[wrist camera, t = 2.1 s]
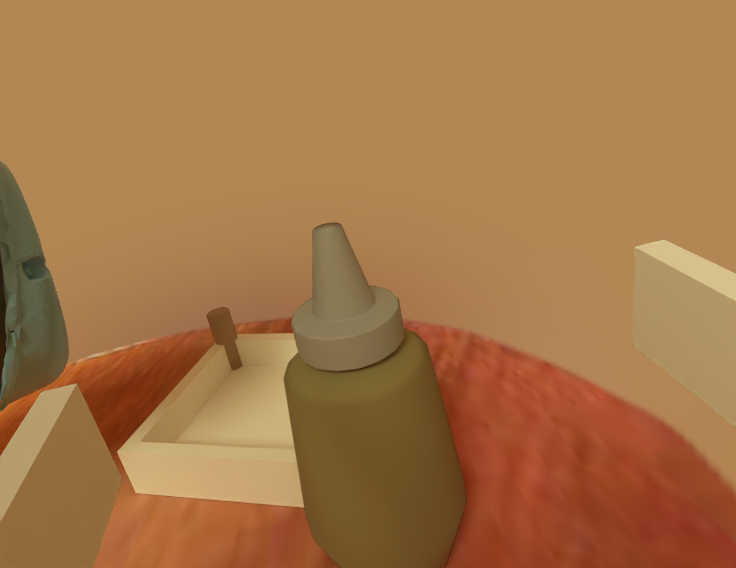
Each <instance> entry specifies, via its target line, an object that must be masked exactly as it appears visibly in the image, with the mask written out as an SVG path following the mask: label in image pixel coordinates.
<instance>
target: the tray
mask: <svg viewBox="0 0 736 568" xmlns="http://www.w3.org/2000/svg"><path fill="white" fill-rule="evenodd" d="M207 319H208V322H209V325H210V328H211V331H212V334H213V336H214V339H215V343H214V344H213V345H212V347H211V348H210V349H209V350H208V351H207V352H206V353H205V354H204V356H203V357H202V358H201V359H200V360H199V361H198V362H197V363H196V364H195V366H194V367H193V368H192V369H191V370H190V371H189V372H188V373H187V374H186V376H185V377H184V378H183V379H182V380H181V381H180V382H179V383H178V384H177V386H176V387H175V388H174V389H173V390H172V391H171V392H170V393H169V394H168V396H167V397H166V398H165V399H164V400H163V401H162V402H161V403H160V404H159V406H158V407H157V408H156V409H155V410H154V411H153V412H152V413H151V415H150V416H149V417H148V418H147V419H146V420H145V421H144V422H143V423H142V425H141V426H140V427H139V428H138V429H137V430H136V431H135V432H134V433H133V435H132V436H131V437H130V438H129V439H128V440H127V441H126V442H125V443H124V445H123V446H122V447H121V448H120V449H119V450H118V451H117V453H118V456H119V458H120V460H121V462H122V464H123V466H124V468H125V471H126V473H127V475H128V477H129V479H130V481H131V483H132V485H133V488H134V490H135V492H136V493H141V494H153V495H165V496H176V497H188V498H199V499H211V500H222V501H234V502H245V503H257V504H269V505H280V506H292V507H303V508H304V503H303V497H302V491H301V484H300V478H299V472H298V466H297V460H296V454H295V448H294V441H293V435H292V429H291V423H290V417H289V411H288V404H287V398H286V392H285V386H284V380H283V378H284V375H285V372H286V368H287V365H288V362H289V361H290V360H291V359H292V358H293V357H294V356H295V355H296V354H297V352H298V349H297V346H296V342H295V338H294V334H293V333H272V334H236V331H235V327H234V324H233V321H232V318H231V315H230V312H229V309H228V308H225V307H222V308H217V309H214V310H212V311H210V312H209V313H208V314H207Z"/></svg>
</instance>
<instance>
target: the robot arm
mask: <svg viewBox="0 0 736 568" xmlns="http://www.w3.org/2000/svg"><path fill="white" fill-rule="evenodd" d="M45 261H46V260H45V257H44V254H43V251H42V247H41V243H40V239H39V236H38V233H37V231H36V228H35V225H34V222H33V220H32V217H31V215H30V212H29V209H28V207H27V204H26V202H25V200H24V197H23V195H22V192H21V190H20V188H19V186H18V184H17V182H16V180H15V178H14V176H13V174H12V173H11V171H10V170H9V168H8V167H7V166H6V165H5V164H4V163H3V162H1V161H0V412H1V411H2V410H3V409H4V408H5V407H6V406H7V405H8V404H10V403H12V402H14V401H16V400H18V399H20V398H22V397H24V396H26V395H29V394H31V393H33V392H35V391H37V390H39V389H41V388H43V387H45V386H47V385H49V384H51V383H52V382H54V381H55V380H56V379H57V378H58V377H59V376H60V375H61V373H62V372H63V370H64V368H65V366H66V364H67V361H68V356H69V346H68V337H67V331H66V327H65V322H64V318H63V314H62V310H61V306H60V302H59V299H58V295H57V292H56V289H55V286H54V282H53V279H52V276H51V274H50V272H49V270H48V268H47V267H46V266H45ZM633 298H634V299H633V346H634V347H636V348H637V349H638V350H639V351H641V352H642V353H643V354H644V355H646V356H647V357H648V358H649V359H651V360H652V361H653V362H654V363H656V364H657V365H658V366H659V367H661V368H662V369H663V370H664V371H666V372H667V373H668V374H669V375H671V376H672V377H673V378H675V379H676V380H677V381H678V382H679V383H681V384H682V385H683V386H684V387H686V388H687V389H688V390H690V391H691V392H692V393H693V394H694V395H696V396H697V397H698V398H699V399H701V400H702V401H703V402H704V403H706V404H707V405H708V406H709V407H711V408H712V409H713V410H714V411H716V412H717V413H718V414H719V415H721V416H722V417H723V418H725V419H726V420H727V421H728V422H729V423H731V424H732V425H733V426H734V427H736V274H735V273H733V272H731V271H729V270H726V269H725V268H722V267H720V266H718V265H716V264H714V263H712V262H710V261H708V260H706V259H704V258H701V257H699V256H697V255H695V254H693V253H691V252H689V251H687V250H685V249H683V248H680V247H678V246H676V245H674V244H672V243H670V242H668V241H666V240H661V241H657V242H652V243H648V244H645V245H640V246H636V247H634V297H633ZM121 480H122V477H121V475H120V473H119V471H118V469H117V466H116V464H115V462H114V460H113V458H112V456H111V454H110V452H109V450H108V447H107V445H106V443H105V441H104V439H103V437H102V435H101V433H100V431H99V429H98V426H97V424H96V422H95V420H94V418H93V416H92V414H91V412H90V410H89V407H88V405H87V403H86V401H85V399H84V397H83V395H82V393H81V391H80V388H79V386H78V384H77V383H76V384H72V385H67V386H63V387H59V388H55V389H51V390H47V391H43V392H41V393H40V395H39V396H38V398H37V399H36V401H35V403H34V404H33V406H32V407H31V409H30V410H29V412H28V413H27V415H26V417H25V418H24V420H23V421H22V423H21V424H20V426H19V427H18V429H17V431H16V432H15V434H14V435H13V437H12V438H11V440H10V442H9V443H8V445H7V446H6V448H5V449H4V451H3V452H2V454H1V456H0V568H93V566H94V563H95V560H96V557H97V554H98V551H99V548H100V545H101V542H102V539H103V535H104V532H105V529H106V526H107V523H108V520H109V517H110V514H111V511H112V508H113V505H114V502H115V499H116V495H117V492H118V489H119V486H120V483H121Z"/></svg>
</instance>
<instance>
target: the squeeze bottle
mask: <svg viewBox="0 0 736 568" xmlns="http://www.w3.org/2000/svg"><path fill="white" fill-rule="evenodd" d="M312 238H313V239H312V241H313V243H312V244H313V245H312V246H313V298H311V299H310V300H308V301H306V302H305V303H304V304H302V306H300V307H299V308H298V309H297V310H296V311H295V313H294V315H293V318H292V321H291V327H292V331H293V334H294V338H295V342H296V346H297V349H298V352H297V354H296V355H295V356H294V357H293V358H292V359H291V360H290V361H289V362H288V365H287V368H286V372H285V375H284V378H283V380H284V386H285V392H286V398H287V404H288V411H289V417H290V423H291V429H292V435H293V441H294V448H295V454H296V460H297V466H298V472H299V478H300V484H301V491H302V497H303V503H304V509H305V515H306V519H307V522H308V524H309V527H310V530H311V533H312V536H313V539H314V541H315V542H316V543H317V544H318V545H319V546H320V547H321V548H322V549H323V550H324V551H325V552H326V554H327V555H328V556H329V557H330V558H331V559H332V560H333V561H334V562H335V563H336V564H337V565H338V566H339V567H340V568H445V565H446V563H447V560H448V557H449V554H450V551H451V549H452V545H453V542H454V539H455V536H456V533H457V530H458V526H459V523H460V520H461V517H462V514H463V511H464V508H465V504H466V501H467V500H466V494H465V487H464V480H463V475H462V471H461V468H460V464H459V460H458V457H457V453H456V449H455V446H454V442H453V438H452V434H451V431H450V427H449V423H448V420H447V416H446V412H445V409H444V405H443V401H442V397H441V394H440V390H439V386H438V383H437V379H436V375H435V372H434V368H433V364H432V361H431V357H430V353H429V349H428V346H427V344H426V343H425V342H424V341H423V340H422V339H421V338H420V337H419V336H418V335H417V334H416V333H414V332H412V331H410V330H407V329H405V328H403V322H402V316H401V310H400V304H399V299H398V298H397V297H396V296H395V295H394V294H393V293H392V292H391V291H389V290H387V289H384V288H380V287H377V286H369V285H368V283H367V281H366V278H365V276H364V274H363V272H362V269H361V267H360V265H359V263H358V260H357V258H356V256H355V254H354V251H353V249H352V247H351V245H350V243H349V240H348V238H347V236H346V234H345V232H344V229H343V227H342V225H341V224H340V223H326V224H322V225H319V226H317V227H315V228H314V229H313V231H312Z"/></svg>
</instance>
